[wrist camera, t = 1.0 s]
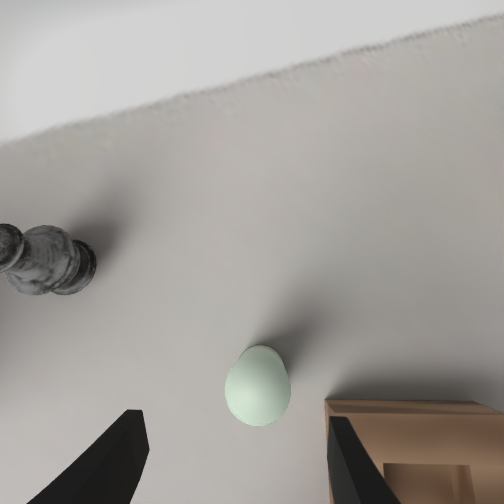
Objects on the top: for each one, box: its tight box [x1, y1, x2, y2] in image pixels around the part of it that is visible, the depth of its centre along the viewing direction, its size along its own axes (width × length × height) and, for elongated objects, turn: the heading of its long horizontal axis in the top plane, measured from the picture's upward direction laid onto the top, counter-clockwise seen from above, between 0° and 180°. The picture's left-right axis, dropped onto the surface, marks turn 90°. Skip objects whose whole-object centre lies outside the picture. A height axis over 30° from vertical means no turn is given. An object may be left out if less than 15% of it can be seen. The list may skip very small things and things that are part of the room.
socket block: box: [325, 399, 504, 504], centre depth 20 cm, size 12×12×4 cm
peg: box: [225, 345, 291, 426], centre depth 21 cm, size 4×4×7 cm
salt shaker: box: [0, 224, 96, 295], centre depth 21 cm, size 6×6×12 cm
